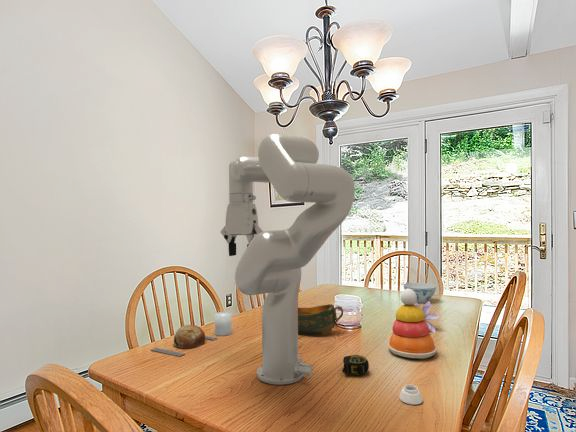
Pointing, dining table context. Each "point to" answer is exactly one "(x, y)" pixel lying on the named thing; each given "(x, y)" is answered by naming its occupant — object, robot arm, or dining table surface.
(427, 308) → the water lily
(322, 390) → the dining table surface
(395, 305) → the dining table surface
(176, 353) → the strip
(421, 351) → the stacking toy
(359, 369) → the tape measure
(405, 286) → the chinaware
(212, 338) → the bay strip right
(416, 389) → the white jar
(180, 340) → the bread roll
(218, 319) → the cup
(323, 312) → the creamer
